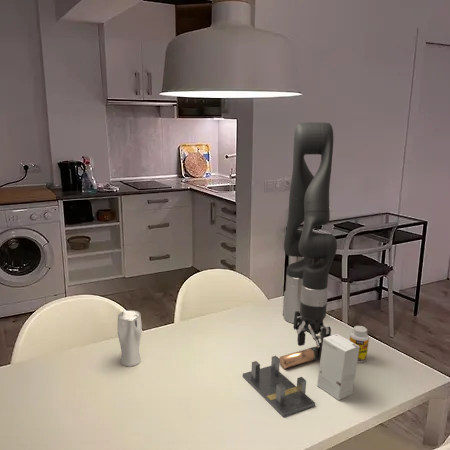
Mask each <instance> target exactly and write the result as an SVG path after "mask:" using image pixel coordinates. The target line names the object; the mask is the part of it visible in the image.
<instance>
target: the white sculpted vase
mask: <svg viewBox="0 0 450 450" xmlns="http://www.w3.org/2000/svg"><path fill="white" fill-rule="evenodd" d="M141 315H142V314H141V312H139V311H137V310H131V309H130V310H124V311H120V313H118V315H117V337H118V341H119V346H120V350H121V351H120V353H121V354H120V360H119V361H120V362H119V363H120V364H121V365H122V366H124V367H134V366H137V365H139V364H140V363H141V361H142V360H141V358H142V357H141V353H140V344H141V339H142V331H143V330H142V329H143V328H142V327H143V326H142V324H143V323H142V318H141Z"/></svg>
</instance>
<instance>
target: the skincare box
mask: <svg viewBox="0 0 450 450" xmlns="http://www.w3.org/2000/svg"><path fill="white" fill-rule="evenodd" d="M358 353H359V346H358V345H356V344H354V343H352V342H351V341H350V339H348V338H346V337H344V336H342V335H340V334H338V333H334V334H331V336H328V337H325V338H323V345H322V352H321V358H320V361H319V369H318V375H317V383H316V386H317V387H319V389H322V390H323V391H324V392H326V393H328V395H331V396H332V397H333V398H335V399H336V400H337V401H340V400H342V399H345V398H346V397H350V396H351V395H353V393H354V392H353V391H354V385H355V379H356V372H357V366H358V362H357V360H358Z"/></svg>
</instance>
